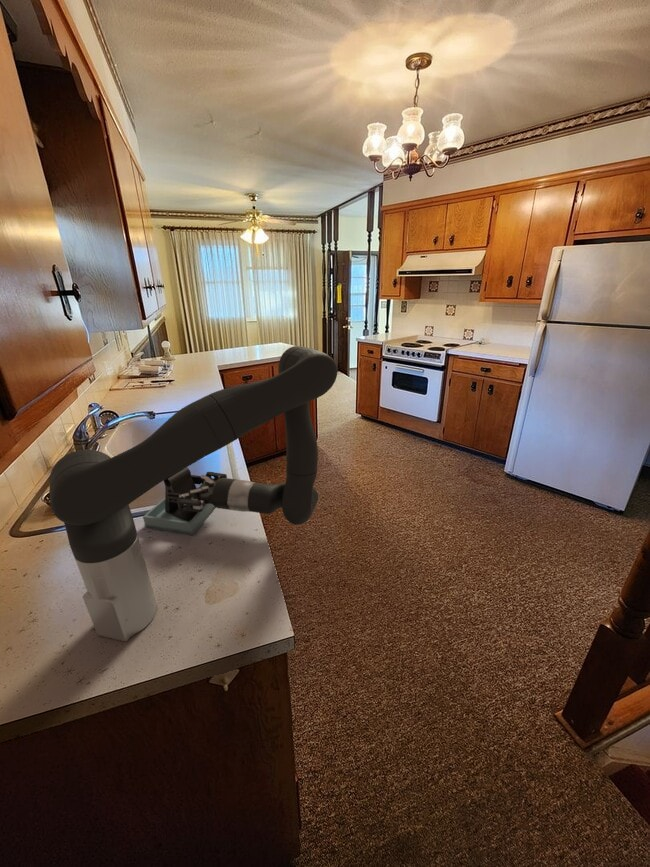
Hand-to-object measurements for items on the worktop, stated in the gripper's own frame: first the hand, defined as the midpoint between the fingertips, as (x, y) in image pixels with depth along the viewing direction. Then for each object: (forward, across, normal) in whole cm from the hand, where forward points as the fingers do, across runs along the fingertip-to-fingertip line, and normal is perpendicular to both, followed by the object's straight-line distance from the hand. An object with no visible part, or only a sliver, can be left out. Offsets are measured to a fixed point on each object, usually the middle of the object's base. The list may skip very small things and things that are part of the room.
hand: (177, 487), depth 89 cm
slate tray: (0, 0, +9) cm, 9 cm away
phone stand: (0, -1, +8) cm, 8 cm away
